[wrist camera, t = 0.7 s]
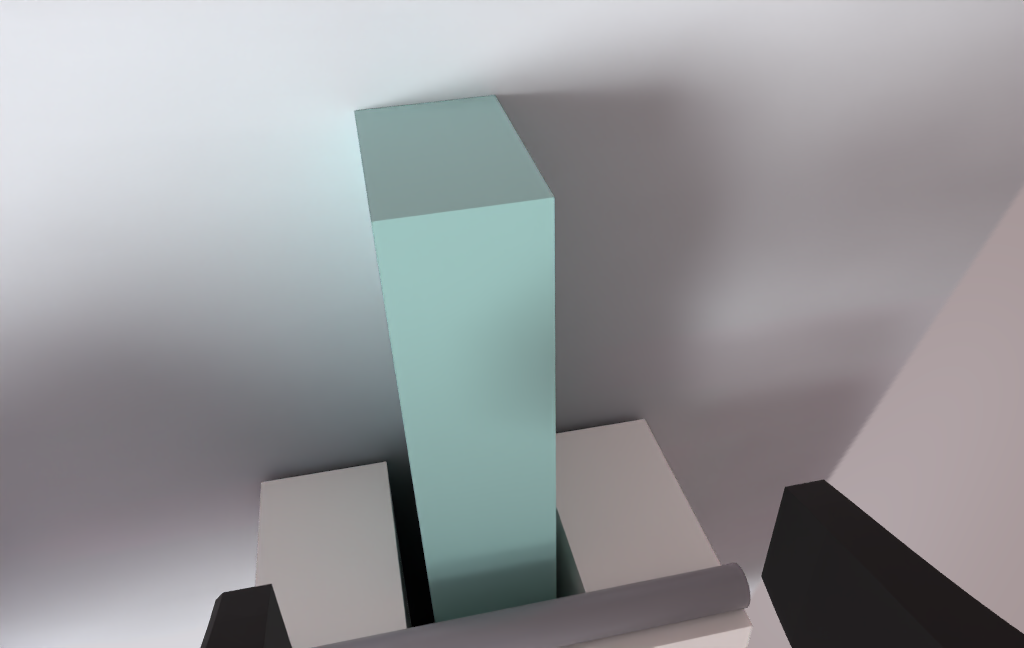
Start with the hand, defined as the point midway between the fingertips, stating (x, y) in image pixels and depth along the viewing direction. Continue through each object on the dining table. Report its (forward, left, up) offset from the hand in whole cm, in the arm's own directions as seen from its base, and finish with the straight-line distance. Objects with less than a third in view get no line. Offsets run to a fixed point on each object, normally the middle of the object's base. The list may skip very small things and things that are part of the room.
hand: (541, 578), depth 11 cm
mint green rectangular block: (-3, -3, -10) cm, 11 cm away
